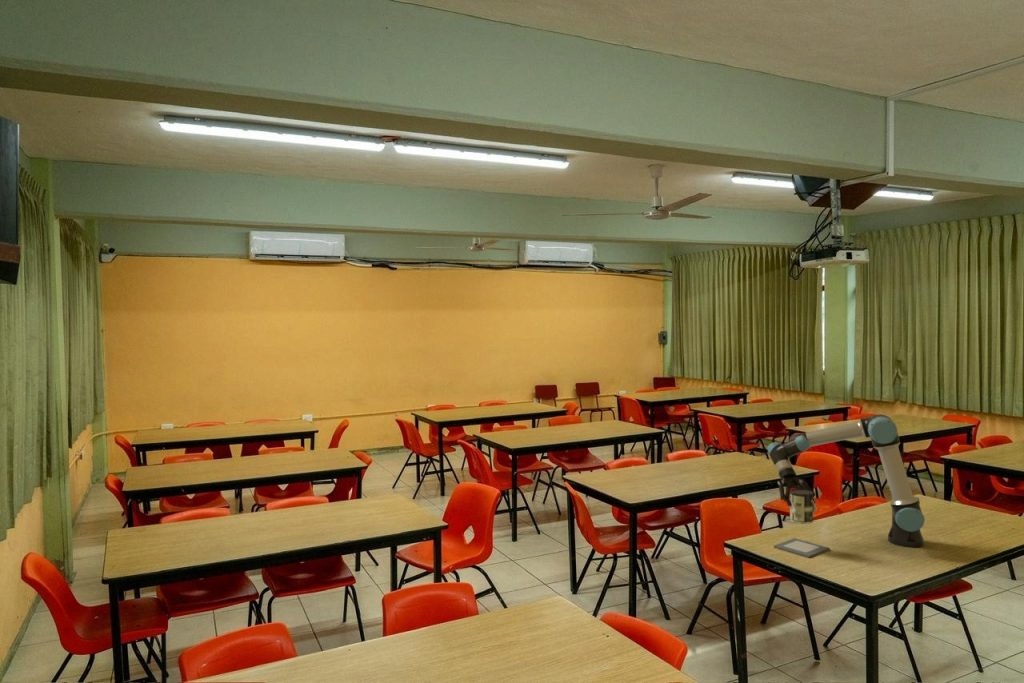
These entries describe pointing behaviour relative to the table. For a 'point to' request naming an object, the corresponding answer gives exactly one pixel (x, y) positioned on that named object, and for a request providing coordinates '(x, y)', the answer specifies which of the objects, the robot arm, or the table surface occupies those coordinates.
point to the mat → (801, 547)
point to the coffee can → (802, 506)
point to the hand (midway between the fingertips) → (805, 511)
